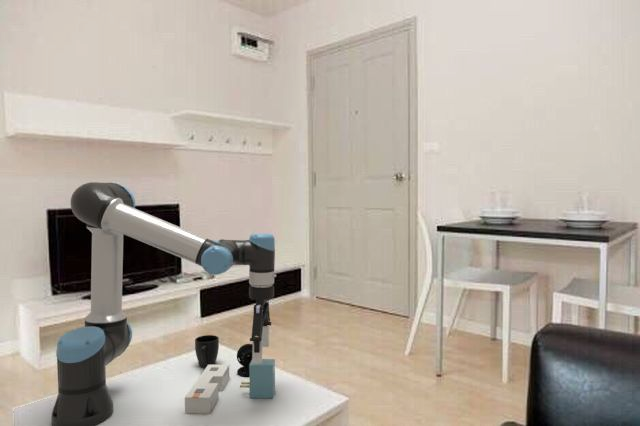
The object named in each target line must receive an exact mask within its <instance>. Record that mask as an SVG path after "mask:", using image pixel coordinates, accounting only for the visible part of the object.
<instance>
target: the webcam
mask: <svg viewBox="0 0 640 426" xmlns="http://www.w3.org/2000/svg"><path fill="white" fill-rule="evenodd" d="M252 347H253V343H246V344H243V345H241V346H240V348H238V350H237V352H236V358H237V362H238V364H240V365H241V367H239V368H238V369H237V373H236V374H237V375H239V376H240V377H246V378H249V365H250V363H251V361H252Z"/></svg>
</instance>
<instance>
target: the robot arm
mask: <svg viewBox="0 0 640 426" xmlns="http://www.w3.org/2000/svg"><path fill="white" fill-rule="evenodd" d="M70 209H71V211H72V214H73V215H74V216H75V218H77V219H78V220H79V221H81V222H82V223H85V224H86V229H87V230H89V232H91V268H90V269H91V273H90V275H91V276H90V277H91V279H90V280H91V281H90V312H89V314H87V315H86V316H85V317H84V326H83V327H78V328H76V329H72V330H71V329H70V330H68V331H67V332H65V333H64V334H62V335H61V336H60V337H59V339H58V340H57V344H56V352H55V357H56V365H57V366H56V367H57V388H58V389H57V396H56V398H55V399H56V400H55V402H54V405H53V409H52V412H51V425H52V426H96V425H99V424H101V423H102V422H105V421H106V420H108V419H109V418H110V417H112V415H113V414H114V400H113V398H112V395H111V393H110V390H109V388H108V386H107V380H106V379H107V378H106V377H107V376H106V375H107V373H106V370H107V369H106V367H107V366H108V364H110V363H111V362H113V361H114V360H115V359H117V357H120V356H121V355H122V354H123V353H124V352H125V351H126V350H127V348H128V347H129V346H130V344H131V342H132V339H133V329H132V326H131V325H130V324H129V323H128V321H127V320H128V315H127V313H125V312H124V311H123V306H122V305H123V267H124V265H123V263H124V261H123V260H124V236H127V237H129V238H132V239H134V240H137V241H139V242H142V243H144V244H147V245H148V246H152V247H153V248H157V249H158V250H161V251H164V252H166V253H168V254H171V255H173V256H175V257H178V258H181V259H182V260H183V259H184V260H186V261H188V262H191V263H192V264H195V265H198V266H200V267H202V269H203V270H204V271H205V272H206V273H207V274H210V275H213V276H218V275H222V274H224V273H226V272H227V271H228V270H230V268H231V267H233V266H249V271H248V272H249V273H248V283H249V287H248V296H249V299H251V300H255V301H256V302H255V304H254V306H253V316H252V317H253V318H252V327H251V328H252V329H251V337H250V338H249V342H252V344H253V347H252V363H262V359H263V348H269V346H270V344H269V343H270V326H272V321H271V317H270V303H269V301H270V300H272V299H273V298H274V297H275V285H274V284H275V278H276V277H277V274H276V273H275V263H276V262H275V261H276V257H275V256H276V247H275V246H276V245H275V243H276V242H275V241H276V240H275V236H274V235H273V234H271V233H262V232H261V233H252V234H250V235H249V238H248V239H247V240H246V239H245V240H243V239H242V240H241V239H238V240H237V239H223V238H221V239H210V238H209V239H208V238H207V237H205V236H202V235H199V233H196V232H193V231H190V230H188V229H186V228H183V227H181V226H178V225H176V224H173V223H171V222H168V221H166V220H165V219H164V220H163V219H161V218H159V217H157V216H155V215H151V214H149V213H147V212H145V211H142V210H141V209H140V210H139V209H137V208H136V199H135V197H134V194H133V193H132V191H131V190H130V189H129V188H127V186H125V185H123V184H120V183H117V182H116V183H114V182H97V181H96V182H95V181H92V182H86V183H83V184H82V185H81V184H80V185H79V186H78V187H77V188H76V189H75V190H74V192H73V193H72V195H71V197H70Z"/></svg>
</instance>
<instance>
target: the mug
mask: <svg viewBox="0 0 640 426" xmlns="http://www.w3.org/2000/svg"><path fill="white" fill-rule="evenodd" d="M219 339H220V338H219V336H217V335H214V334H209V335H208V334H205V335H201V336H198V337H196V338H195V339H194V349H195V355H196V358H197V359H196V360H197V362H198V365H199V367H201V368H204V369H206V367H207V366H208V365H216V363H217V358H218V355H219V348H220V347H219V346H220V344H219V343H220V342H219V341H220V340H219Z"/></svg>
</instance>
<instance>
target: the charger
mask: <svg viewBox="0 0 640 426" xmlns="http://www.w3.org/2000/svg"><path fill="white" fill-rule="evenodd" d="M248 378H249V381H241V382H240V385H239V388H242V389H244V388H249V399H274V396H275V392H276V359H275V358H262V363H252V361H251V363H250V365H249V377H248Z"/></svg>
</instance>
